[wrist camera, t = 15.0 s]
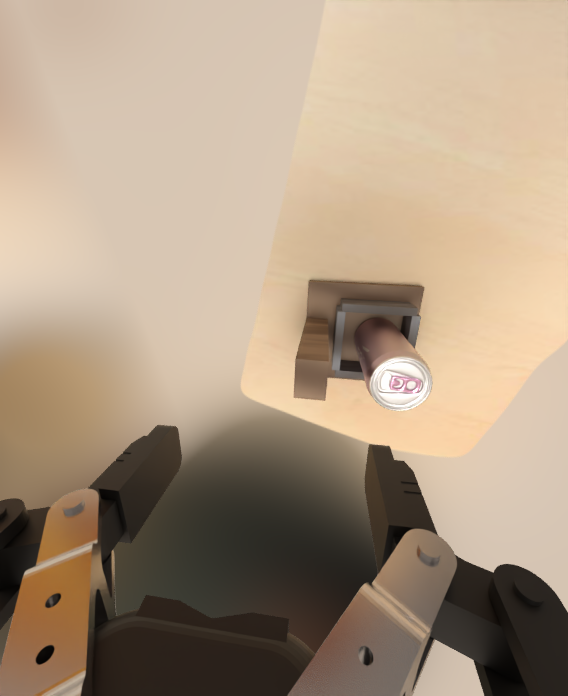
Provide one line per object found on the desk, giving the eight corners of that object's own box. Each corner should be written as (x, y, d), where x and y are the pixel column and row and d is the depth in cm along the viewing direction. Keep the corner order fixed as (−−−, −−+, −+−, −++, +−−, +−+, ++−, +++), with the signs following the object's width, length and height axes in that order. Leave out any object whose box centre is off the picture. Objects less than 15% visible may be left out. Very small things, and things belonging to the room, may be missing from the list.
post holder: (309, 280, 41) (298, 304, 25) (420, 286, 40) (486, 315, 23) (303, 371, 46) (291, 441, 30) (403, 379, 44) (447, 459, 28)
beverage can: (392, 360, 42) (425, 417, 28) (350, 354, 43) (361, 407, 29) (402, 319, 40) (443, 360, 26) (358, 313, 41) (374, 350, 27)
